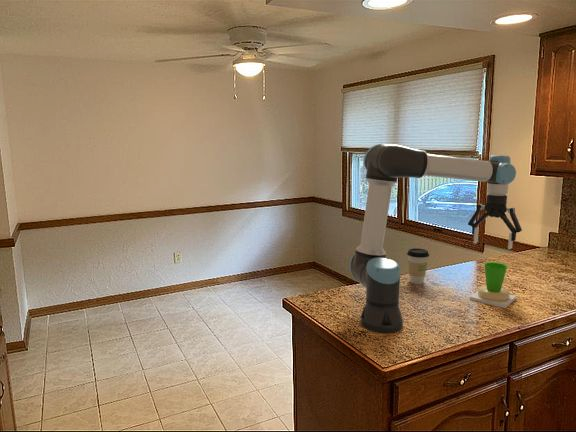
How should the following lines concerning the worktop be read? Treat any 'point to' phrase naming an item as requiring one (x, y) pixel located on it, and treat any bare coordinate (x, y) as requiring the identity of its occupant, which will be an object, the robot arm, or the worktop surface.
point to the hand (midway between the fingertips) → (492, 245)
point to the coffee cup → (417, 264)
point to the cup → (494, 276)
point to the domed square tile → (493, 297)
